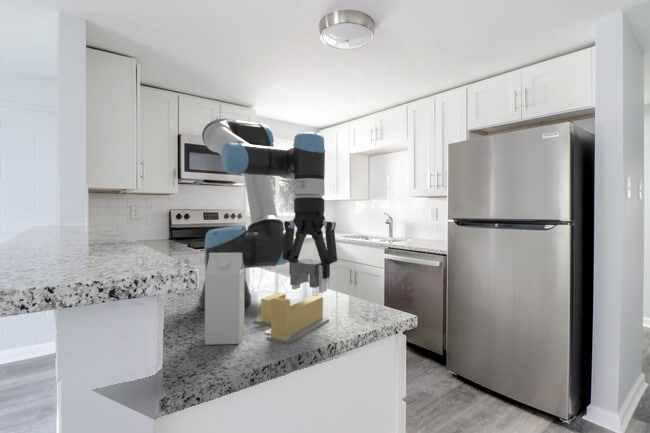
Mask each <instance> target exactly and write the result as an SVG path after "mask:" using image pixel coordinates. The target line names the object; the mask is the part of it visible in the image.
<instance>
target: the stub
mask: <svg viewBox="0 0 650 433" xmlns="http://www.w3.org/2000/svg"><path fill="white" fill-rule="evenodd" d="M275 297H276V298H283V299H287V298H286V294H285V293H279V292H278V293H275V294H271V295H269V296H266V297H263V298H261V300H260V301H261V302H260V303H261V304H260V305H261V306H260V307H261V308H260V314H261V315H260V317H258V318H255V319H253V321H252V323H253V324H254V323H255V324H259V325H264V326H269V327H271V299H272V298H275Z"/></svg>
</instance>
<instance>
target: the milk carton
mask: <svg viewBox="0 0 650 433" xmlns="http://www.w3.org/2000/svg"><path fill="white" fill-rule="evenodd" d="M244 269H245V268H244V263H243V259H242V253H209V260H208V264H207V268H206V272H205V271H204V282H205V310H204V344H205V345H206V346H207V345H213V346H214V345H239V344H240V343H241V341H242V338H243V335H244V333H245V308H244Z"/></svg>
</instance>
